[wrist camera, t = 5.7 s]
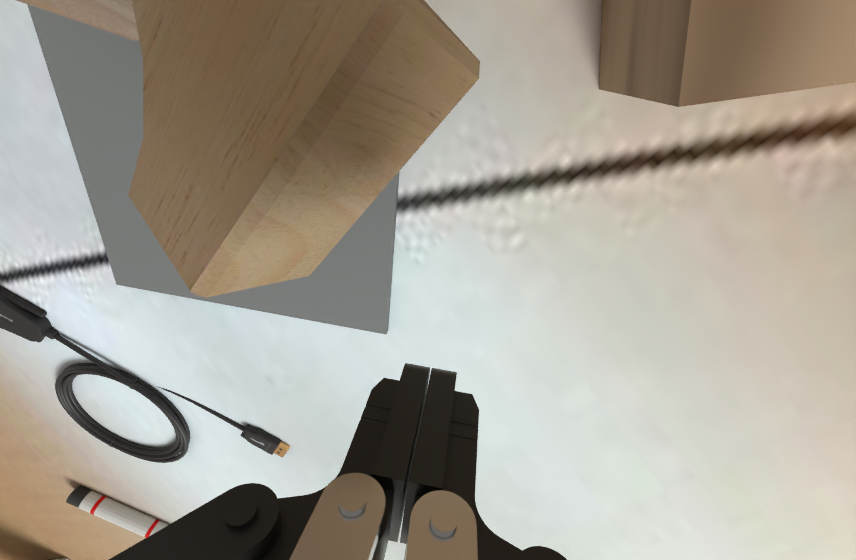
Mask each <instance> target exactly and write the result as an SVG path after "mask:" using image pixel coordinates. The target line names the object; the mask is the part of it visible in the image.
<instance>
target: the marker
mask: <svg viewBox="0 0 856 560" xmlns="http://www.w3.org/2000/svg"><path fill="white" fill-rule="evenodd" d="M66 502H67V503H69V504H71V505H74V506H76V507H78V508H79V509H82V510H84V511H86V512H88V513H91V514H93V515H95V516H98V517H100V518H102V519H105V520H107V521H109V522H111V523H114V524H116V525H118V526H121V527H123V528H125V529H127V530H130V531H132V532H134V533H137V534H139V535H141V536H144V537H146V538H147V537H149V536H151V535H152V534H154V533H156V532H158V531H159V530H161V529H163V528H164V527H166V526H168V525H169V524H167V523H164V522H162V521H160V520H158V519H155V518H153V517H151V516H149V515H146V514H144V513H142V512H139V511H137V510H135V509H133V508H130V507H128V506H126V505H124V504H121V503H119V502H117V501H115V500H112V499H110V498H108V497H106V496H103V495H101V494H99V493H96V492H94V491H91V490H89V489H87V488H85V487H82V486H78V487H77V488H76V489H75V490H74V491H73V492H72V493H71V494H70V495H69V497H68V499H67V501H66Z"/></svg>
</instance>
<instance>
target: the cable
mask: <svg viewBox="0 0 856 560" xmlns="http://www.w3.org/2000/svg"><path fill="white" fill-rule="evenodd" d="M46 314H47V313H46V312H45V311H43V310H41V309H40V308H38V307H36V306H34V305H33V304H31V303H30V302H28V301H26V300H24V299H22V298H21V297H19V296H17V295H15V294H13V293H12V292H10V291H9V290H7V289H6V288H4V287H2V286H1V285H0V328H2V329H5V330H7V331H10V332H12V333H14V334H16V335H19V336H21V337H23V338H25V339H27V340H30V341H37V342H41V341H42V340H43V339H44V337H46V336H47V337H48V338H50V339H54V338H55V339H56V340H58V341H60V342H61V343H63V344H64V345H66V346H68V347H69V348H71V349H72V350H74V351H76V352H77V353H79V354H80V355H82V356H84V357H85V358H87V359H89V360H90V361H92V362H93V363H77V364H73V365H71V366H69V367H67V368H66V369H65V370H64V371H63V372H62V373H61V374H60V375H59V376H58V378H57V379H56V383H55V389H56V394H57V397H58V399H59V401H60V403H61V405H62V406H63V408H64V409H65V410H66V412H67V413H68V414H69V415H70V416H71V417H72V418H73V419H74V420H75V421H76V422H77V423H78V424H79V425H80V426H81V427H82V428H84V429H85V430H86V431H87V432H89V433H90V434H92V435H93V436H95V437H96V438H98V439H99V440H101V441H102V442H104V443H106V444H108V445H109V446H111V447H114V448H116V449H118V450H120V451H122V452H124V453H127V454H129V455H131V456H134V457H137V458H140V459H143V460H147V461H152V462H161V463H167V462H174V461H177V460H179V459H180V458H182V457H183V456H184V455H185V454H186V452H187V450H188V444H189V441H190V431H189V427H188V425H187V422H186V421H185V419H184V417H183V416H182V414H181V413H180V412H179V410H178V409H177V408H176V407H175V406H174V405H173V404H172V403H171V402H170V401H169V400H168V399H167V398H166V397H165V396H164V395H162V394H161V393H160V392H159V391H157V390H156V389H154V388H153V387H151V386H150V385H148V384H147V383H145V382H143V381H142V380H140V378H138V377H137V378H136V377H134V376H132V375H130V374H128V373H125V372H123V371H120V370H117V369H114V368H111V367H110V366H108V365H107V364H105V363H104V362H102V361H100V360H99V359H97V358H96V357H94V356H92V355H91V354H89V353H87V352H86V351H84V350H83V349H81V348H79V347H78V346H76V345H75V344H73V343H71V342H70V341H68V340H67V339H65V338H63V337H62V336H60V335H59V332H58V331H56V330H54V329H52V326H51V323H50V321H49V320H48V319H47V318H46V317H45V316H46ZM81 374H93V375H99V376H104V377H107V378H110V379H113V380H116V381H118V382H120V383H123V384H125V385H127V386H129V387H130V388H131V389H134V390H136V391H138V392H139V393H141V394H142V395H144V396H145V397H146V398H148V399H149V400H150V401H152V402H153V403H154V404H155V405H156V406H157V407H158V408H159V409H160V410H161V411H162V412H163V413H164V414H165V415H166V416H167V417H168V419H169V420H170V422H171V423H172V425H173V427H174V429H175V432H176V442H175V443H174V444H172V445H171V446H168V447H163V448H154V447H147V446H142V445H139V444H135V443H133V442H130V441H128V440H125V439H123V438H121V437H119V436H117V435H115V434H113V433H112V432H110V431H108V430H107V429H105V428H104V427H102V426H101V425H100V424H98V423H97V422H96V421H95V420H94V419H92V418H91V417H90V416H89V415H88V414H87V413H86V412H85V411H84V410H83V408H82V407H81V406H80V405H79V403H78V402H77V400H76V398H75V396H74V394H73V391H72V382H73V379H74V378H75V377H76V376H77V375H81ZM159 388H161V387H159ZM161 389H164V388H161ZM164 390H166V391H168V392H171V393H173V394H175V395H177V396H179V397H182V398H184V399H186V400H188V401H190V402H192V403H194V404H195V405H197V406H199V407H201V408H203V409H205V410H206V411H208V412H210V413H212V414H214V415H215V416H217V417H219V418H221V419H223V420H224V421H226V422H228V423H230V424H231V425H233V426H235V427H237V428H238V429H240V430H242V431H243V432H242V434H241V436H242V437H243V438H245V439H246V440H247V441H248V442H250V443H251V444H253V445H255V446H257V447H259V448H261V449H262V450H264V451H266V452H267V453H269V454H271V455H272V454H273V453H275V454H277V455H279V456H281V457H283V456H284V455H285V453H286V452H287V451H288V449H289V447H290V446H289V445H287V444H285V443H284V442H282V440H280V439H279V438H276V437H274V436H272V435H270V434H269V433H267V432H265V431H264V430H262V429H260V428H256V427H253V426H251V425H249V424H248V425H247V426H246V427H244V426H242V425H240V424H238V423H236V422H235V421H233V420H231V419H229V418H227V417H225V416H223V415H221V414H219V413H217V412H215V411H214V410H212V409H210V408H208V407H206V406H204V405H201V404H199V403H197V402H195V401H193V400H191V399H189V398H187V397H184V396H182V395H180V394H177V393H175V392H173V391H170V390H167V389H164ZM179 453H180V454H179ZM178 454H179V455H178ZM176 455H177V456H176Z"/></svg>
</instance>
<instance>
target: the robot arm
mask: <svg viewBox="0 0 856 560" xmlns="http://www.w3.org/2000/svg"><path fill="white" fill-rule="evenodd" d="M429 373H430V368H429V367H424V366H418V365H413V364H407V363H405V366H404V369H403V372H402V375H401V378H400V381H398V380H393V379H387V378H383V379H382V380H381V381H380V382H379V383H378V384H377V385H376V386H375V387H374V388H373V389H372V391H371V393H370V396H369V398H368V401H367V404H366V407H365V409H364V411H363V414H362V417H361V420H360V422H359V424H358V427H357V430H356V432H355V435H354V437H353V440H352V443H351V445H350V448H349V450H348V453H347V456H346V458H345V461H344V463H343V466H342V468H341V470H340V472H339V474H338V475H337V477H336V478H335V479H334V480H333V481H332V482H330V483H329V484H328V486H326V487H325V488H323V489H322V490H320V491H317V492H315V493H312V494H309V495H303V496H295V497H287V498H279V499H277V497H276V495H275V493H274V492H273V491H272V490H271V489H270V488H269V487H267V486H265V485H261V484H255V483H250V484H243V485H240V486H237V487H234V488H232V489H230V490H228V491H227V492H225V493H223V494H221V495H220V496H218V497H216V498H214V499H213V500H211V501H209V502H208V503H206V504H204V505H202V506H201V507H199V508H197V509H196V510H194V511H192V512H190V513H189V514H187V515H185V516H183V517H182V518H180V519H178V520H177V521H175V522H173V523H171V524H170V525H168V526H166V527H164V528H163V529H161V530H159V531H158V532H156V533H154V534H152V535H151V536H149V537H147V538H145V539H144V540H142V541H140V542H139V543H137V544H135V545H133V546H132V547H130V548H128V549H127V550H125V551H123V552H121V553H120V554H118V555H116V556H114V557H113V558H111V559H109V560H384V557H385V552H386V548H387V543H388V540H390V541H395V542H397V541H398V536H399V531H400V526H401V522H402V517H403V524H402V531H401V539H400V543H405V544H406V551H405V558H404V560H567V559H566V558H565V557H564V556H562V555H561V554H559V553H558V552H556V551H554V550H552V549H550V548H547V547H542V546H533V547H529V548H527V549H525V550H523V551H522V550H520V549H519V548H517V547H515V546H513V545H512V544H510V543H508V542H507V541H505V540H503V539H502V538H500V537H499V536H497V535H496V534H494V533H493V532H492V531H491V530H490V529H489V528H488V527H487V526H486V525H485V523H484V522H483V520H482V519H481V517H480V515H479V513H478V511H477V508H476V503H475V479H476V459H477V438H478V418H479V409H478V407H477V404H476V402H475V400H474V397H473V395H472V394H468V393H462V392H457V391H454V390H455V382H456V374H457V372H452V371H446V370H441V369H435V368H432V370H431V375H430V380H429ZM428 380H429V384H428ZM427 387H428V389H427ZM404 507H405V508H404ZM403 512H404V516H403Z"/></svg>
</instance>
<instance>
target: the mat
mask: <svg viewBox="0 0 856 560" xmlns="http://www.w3.org/2000/svg"><path fill="white" fill-rule="evenodd" d="M28 8H29V11H30V14H31V17H32V20H33V23H34V26H35V30H36V33H37V36H38V39H39V42H40V45H41V48H42V52H43V55H44V58H45V61H46V64H47V67H48V70H49V74H50V77H51V80H52V83H53V86H54V89H55V92H56V96H57V99H58V102H59V105H60V108H61V111H62V114H63V118H64V121H65V124H66V127H67V130H68V133H69V136H70V140H71V143H72V146H73V149H74V152H75V155H76V158H77V162H78V165H79V168H80V171H81V174H82V177H83V180H84V184H85V187H86V190H87V193H88V196H89V199H90V202H91V206H92V209H93V212H94V215H95V218H96V221H97V224H98V228H99V231H100V234H101V237H102V240H103V243H104V246H105V250H106V253H107V256H108V259H109V262H110V265H111V268H112V272H113V275H114V278H115V281H116V284H117V285H122V286H127V287H133V288H138V289H144V290H149V291H154V292H160V293H165V294H171V295H176V296H182V297H187V298H192V299H198V300H203V301H209V302H214V303H219V304H225V305H230V306H236V307H241V308H246V309H252V310H257V311H263V312H268V313H274V314H279V315H284V316H290V317H295V318H301V319H306V320H311V321H317V322H322V323H328V324H333V325H338V326H344V327H349V328H355V329H360V330H366V331H371V332H376V333H382V334H387V332H388V324H389V310H390V296H391V282H392V268H393V253H394V239H395V225H396V211H397V197H398V183H399V172H398V173H397V174H396V175H395V176H394V178H393V179H392V180H391V181H390V182H389V183H388V185H387V186H386V187H385V188H384V189H383V190H382V191H381V193H380V194H379V195H378V196H377V197H376V198H375V200H374V201H373V202H372V203H371V204H370V206H369V207H368V208H367V209H366V210H365V211H364V213H363V214H362V215H361V216H360V217H359V218H358V220H357V221H356V222H355V223H354V224H353V225H352V227H351V228H350V229H349V230H348V231H347V232H346V234H345V235H344V236H343V237H342V238H341V240H340V241H339V242H338V243H337V244H336V245H335V247H334V248H333V249H332V250H331V251H330V252H329V254H328V255H327V256H326V257H325V258H324V259H323V261H322V262H321V263H320V264H319V265H318V266H317V268H316V269H315V270H314V271H313V272H312V273H311V275H310V276H306V277H302V278H297V279H292V280H287V281H283V282H278V283H273V284H268V285H264V286H259V287H254V288H249V289H245V290H240V291H235V292H230V293H226V294H221V295H216V296H212V297H207V298H206V297H201V296H197V295H195V294H194V293H192V292H191V291H190V290H189V288H188V287H187V285H186V284H185V282H184V281H183V279H182V278H181V276H180V275H179V273H178V271H177V270H176V268H175V267H174V265H173V264H172V262H171V261H170V259H169V258H168V256H167V254H166V253H165V251H164V250H163V248H162V247H161V245H160V244H159V242H158V241H157V239H156V237H155V236H154V234H153V233H152V231H151V230H150V228H149V227H148V225H147V224H146V222H145V221H144V219H143V217H142V216H141V214H140V213H139V211H138V210H137V208H136V207H135V205H134V204H133V202H132V200H131V199H130V197H129V196H128V194H129V191H130V187H131V183H132V179H133V175H134V171H135V167H136V163H137V159H138V155H139V152H140V148H141V144H142V140H143V58H142V52H141V47H140V41H133V40H131V39H128V38H125V37H122V36H119V35H116V34H113V33H110V32H107V31H104V30H101V29H98V28H96V27H93V26H90V25H87V24H84V23H81V22H78V21H75V20H72V19H69V18H66V17H63V16H61V15H58V14H55V13H52V12H49V11H46V10H43V9H40V8H37V7H34V6H31V5H28Z"/></svg>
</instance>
